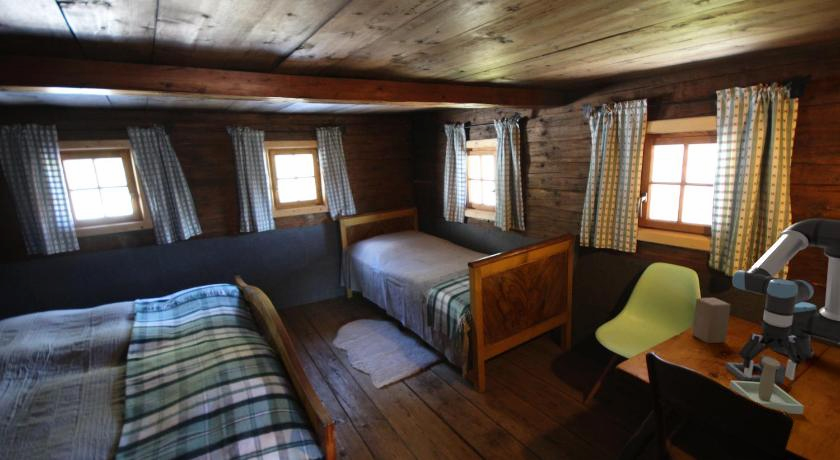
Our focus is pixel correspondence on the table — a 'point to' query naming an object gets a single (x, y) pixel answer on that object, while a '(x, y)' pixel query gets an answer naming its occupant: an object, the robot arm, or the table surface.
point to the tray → (777, 398)
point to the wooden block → (711, 320)
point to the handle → (768, 378)
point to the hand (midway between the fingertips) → (768, 376)
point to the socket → (736, 368)
